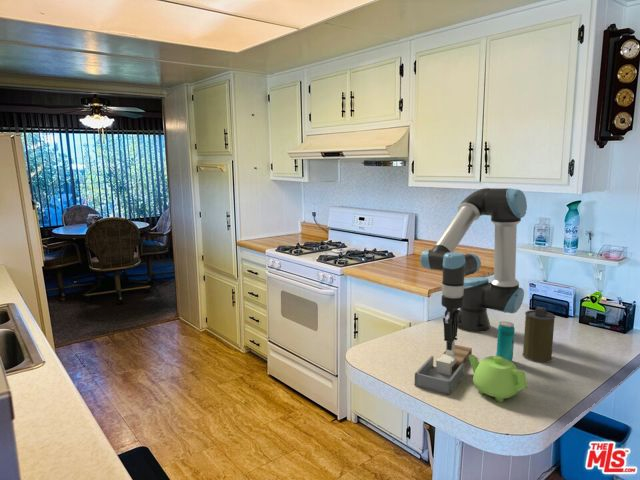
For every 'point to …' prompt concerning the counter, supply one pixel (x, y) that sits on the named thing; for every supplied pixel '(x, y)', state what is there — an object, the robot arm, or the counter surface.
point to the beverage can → (505, 340)
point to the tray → (437, 378)
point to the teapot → (497, 377)
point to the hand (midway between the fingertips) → (449, 357)
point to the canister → (538, 335)
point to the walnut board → (460, 355)
